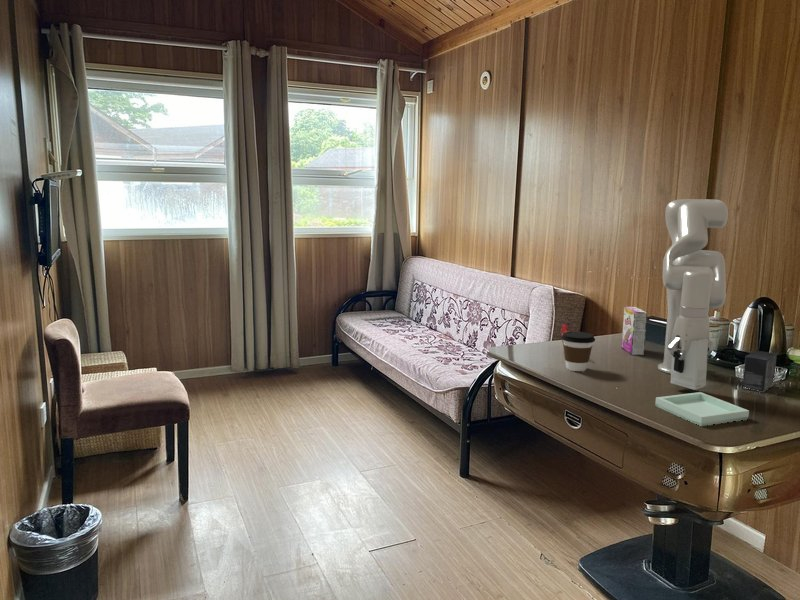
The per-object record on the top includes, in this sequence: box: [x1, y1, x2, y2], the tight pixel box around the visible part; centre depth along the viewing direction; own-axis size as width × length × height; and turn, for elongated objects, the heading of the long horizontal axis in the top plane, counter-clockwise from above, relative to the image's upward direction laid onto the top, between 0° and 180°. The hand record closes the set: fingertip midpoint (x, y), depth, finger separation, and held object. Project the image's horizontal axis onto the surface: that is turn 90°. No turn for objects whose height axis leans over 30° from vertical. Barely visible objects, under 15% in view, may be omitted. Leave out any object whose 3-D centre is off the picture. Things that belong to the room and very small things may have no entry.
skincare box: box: [670, 338, 709, 391], centre depth 179 cm, size 8×6×15 cm
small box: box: [741, 350, 778, 391], centre depth 185 cm, size 11×6×10 cm, turn 135°
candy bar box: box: [621, 306, 648, 356], centre depth 226 cm, size 11×5×16 cm, turn 179°
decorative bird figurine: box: [560, 323, 571, 345], centre depth 223 cm, size 3×18×10 cm, turn 8°
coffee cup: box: [561, 331, 596, 372], centre depth 202 cm, size 11×11×12 cm
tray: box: [654, 391, 750, 427], centre depth 163 cm, size 16×16×2 cm
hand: (688, 369), depth 180 cm, fingers closed on skincare box, 6 cm apart
